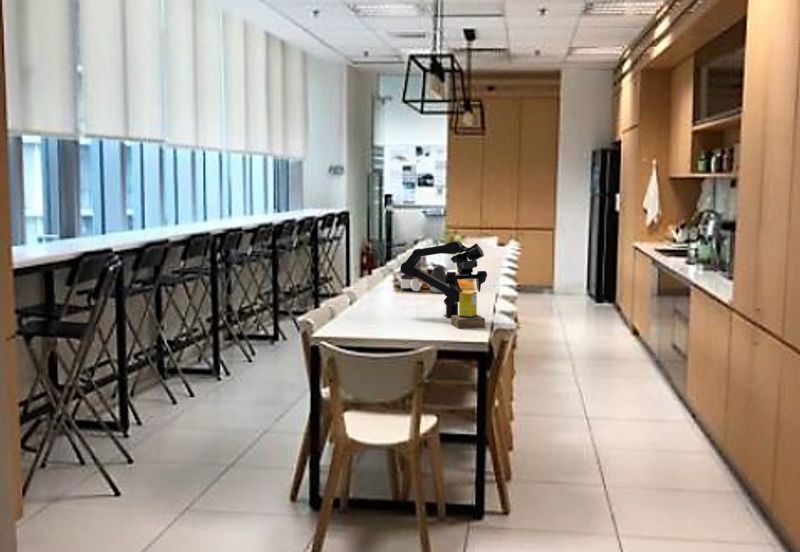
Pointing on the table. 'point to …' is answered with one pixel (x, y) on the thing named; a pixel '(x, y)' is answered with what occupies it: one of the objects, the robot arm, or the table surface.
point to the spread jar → (409, 283)
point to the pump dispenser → (438, 277)
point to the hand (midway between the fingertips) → (469, 291)
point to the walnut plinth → (467, 322)
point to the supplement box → (467, 304)
